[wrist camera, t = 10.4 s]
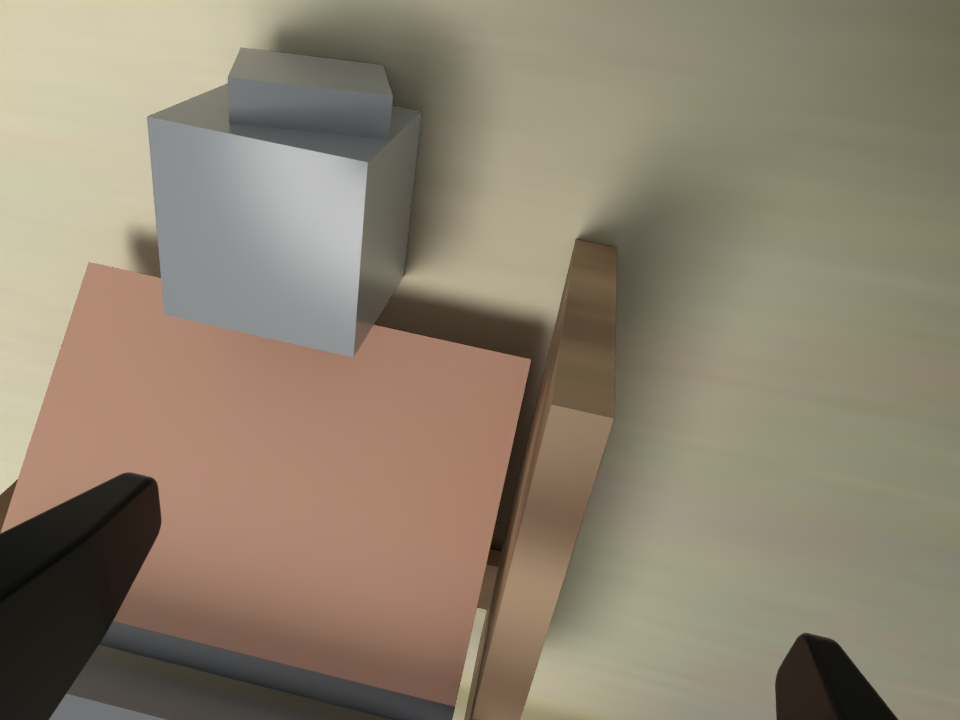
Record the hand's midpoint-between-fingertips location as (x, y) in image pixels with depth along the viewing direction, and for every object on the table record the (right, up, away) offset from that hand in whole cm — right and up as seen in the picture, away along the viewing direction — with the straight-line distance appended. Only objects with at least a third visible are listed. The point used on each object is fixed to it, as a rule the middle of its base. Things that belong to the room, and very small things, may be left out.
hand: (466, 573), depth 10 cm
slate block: (-5, +5, +11) cm, 13 cm away
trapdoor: (-7, -3, +13) cm, 15 cm away
